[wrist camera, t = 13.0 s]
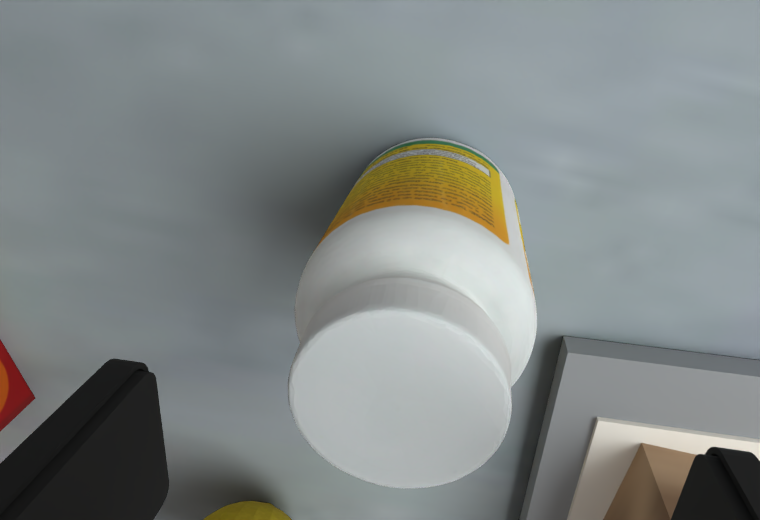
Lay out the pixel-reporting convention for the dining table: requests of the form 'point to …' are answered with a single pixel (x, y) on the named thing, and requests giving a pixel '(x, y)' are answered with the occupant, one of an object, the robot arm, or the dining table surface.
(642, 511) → the walnut slab
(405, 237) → the supplement bottle
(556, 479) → the baseplate
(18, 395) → the baking soda box
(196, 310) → the dining table surface
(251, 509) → the lemon
